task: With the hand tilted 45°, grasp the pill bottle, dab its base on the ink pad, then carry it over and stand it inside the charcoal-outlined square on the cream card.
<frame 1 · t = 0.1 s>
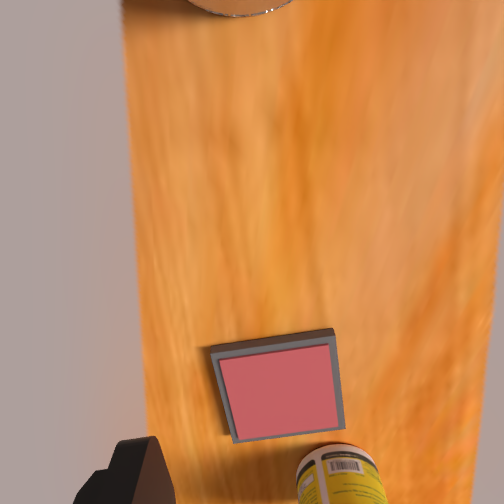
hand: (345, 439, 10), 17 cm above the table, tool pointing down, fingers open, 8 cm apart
ink pad: (280, 384, 31), on the table
pill bottle: (335, 467, 35), on the table
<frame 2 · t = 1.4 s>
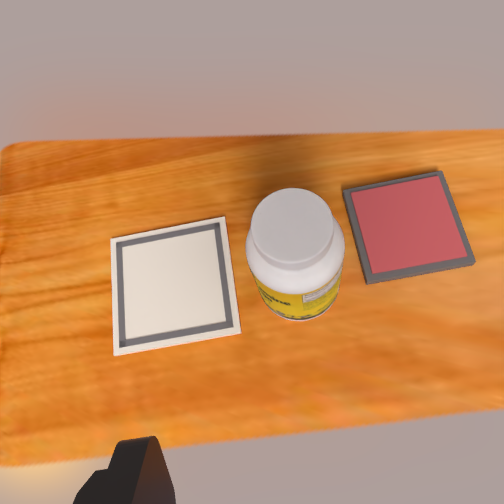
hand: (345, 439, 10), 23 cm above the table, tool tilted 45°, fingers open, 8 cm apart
ink pad: (404, 228, 36), on the table
pill bottle: (299, 285, 36), on the table
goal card: (172, 284, 37), on the table
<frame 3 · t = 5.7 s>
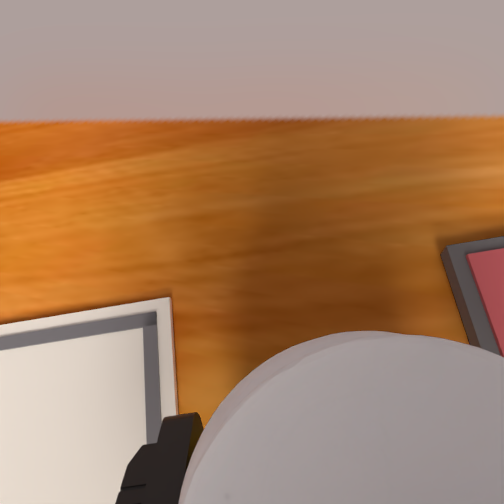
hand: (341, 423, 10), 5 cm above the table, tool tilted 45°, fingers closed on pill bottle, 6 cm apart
pill bottle: (343, 489, 14), on the table, touching gripper
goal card: (35, 463, 15), on the table
when the fingers open (6 cm above the table, at t = 18.2 s): pill bottle stays where it is, resting on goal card.
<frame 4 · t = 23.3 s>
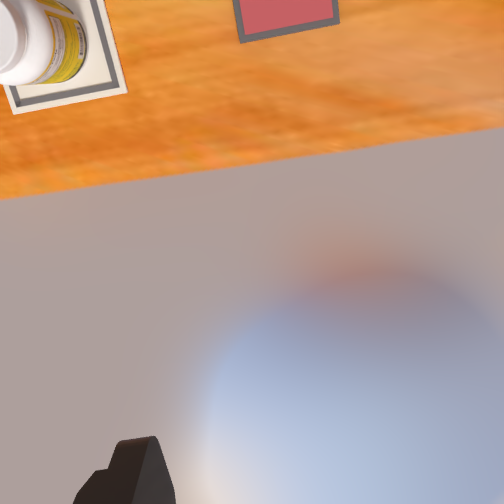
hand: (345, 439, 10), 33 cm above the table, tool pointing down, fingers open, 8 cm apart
pill bottle: (53, 43, 37), resting on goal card
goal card: (51, 39, 37), on the table
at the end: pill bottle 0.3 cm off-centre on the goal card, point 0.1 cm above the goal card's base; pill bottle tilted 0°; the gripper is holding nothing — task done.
